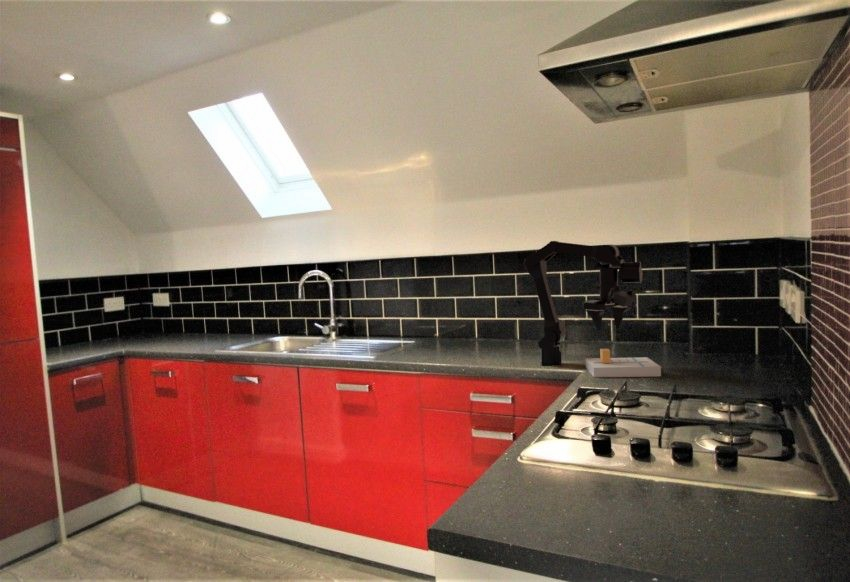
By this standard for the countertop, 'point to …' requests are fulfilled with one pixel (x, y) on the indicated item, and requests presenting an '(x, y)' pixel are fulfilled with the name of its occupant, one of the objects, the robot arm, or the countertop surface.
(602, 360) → the fader knob
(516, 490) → the countertop surface
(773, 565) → the countertop surface
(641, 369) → the console
